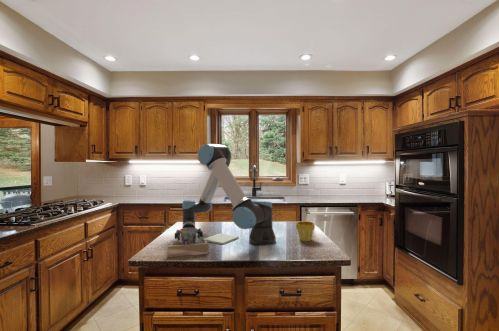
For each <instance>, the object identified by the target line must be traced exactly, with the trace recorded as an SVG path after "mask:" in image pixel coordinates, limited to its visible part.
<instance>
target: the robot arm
mask: <svg viewBox="0 0 499 331" xmlns="http://www.w3.org/2000/svg"><path fill="white" fill-rule="evenodd" d="M197 152H198V153H197V159H198V161H199V163H200V164H202V165H205V166H206V168H207V170H208V171H211V172H210V174H209V177H208V179H207V182H206V184H205V187H204V189H203V191H202V193H201V196H200V197H199V201H195V199H185V200H183V201H182V207H181V208H182V227H181V229H182V228H190V227H192V228H196V215H197V214H201V213H202V214H203V213H207V212H209V211H211V210H212V209H213V204H212V201H213V199H214V196H215V194H216V192H217V190H218V188H219V185H220V186H221V188H222V189H223V192H224V193H225V195H226V197H227V198H228V200H229V201H230V203H231V205H232V208H231V210H232V212H233V213H232V220H233V222H234V224H235V226H236V227H237V228H238V229H242V230H248V229H251V231H250V234H249V238H248V239H249V241H248V242H249V243H250V244H252V245H256V246H257V245H259V246H260V245H261V246H267V245H273V244H275V243H276V241H277V239H276V237H277V236H276V233H275V231H274V227H273V204H272V202H271V201H267V200H265V201H264V200H252V198H249V197H247V196H246V194H245V193H244V191H243V189H242V188H241V186H240V184H239V183H238V182H237V180H236V178H235V177H234V175H233V173H232V171H231V169H230V168H229V166H230V165H231V160H232V153H231V150H230V148H229V147H228V146H226V145H224V144H216V143H204V144H202V145H201V146H200V147H199V149H198V151H197ZM197 229H198V230H197V233H196V238H195V242H198V239H200V237H201V238H203V237H204V235H203V234H204V232H203V230H202V228H197ZM179 230H180V229H176V231H175V233H174V239H177V240H178V241H179V243H182V236H181V233H180V231H179Z"/></svg>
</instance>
